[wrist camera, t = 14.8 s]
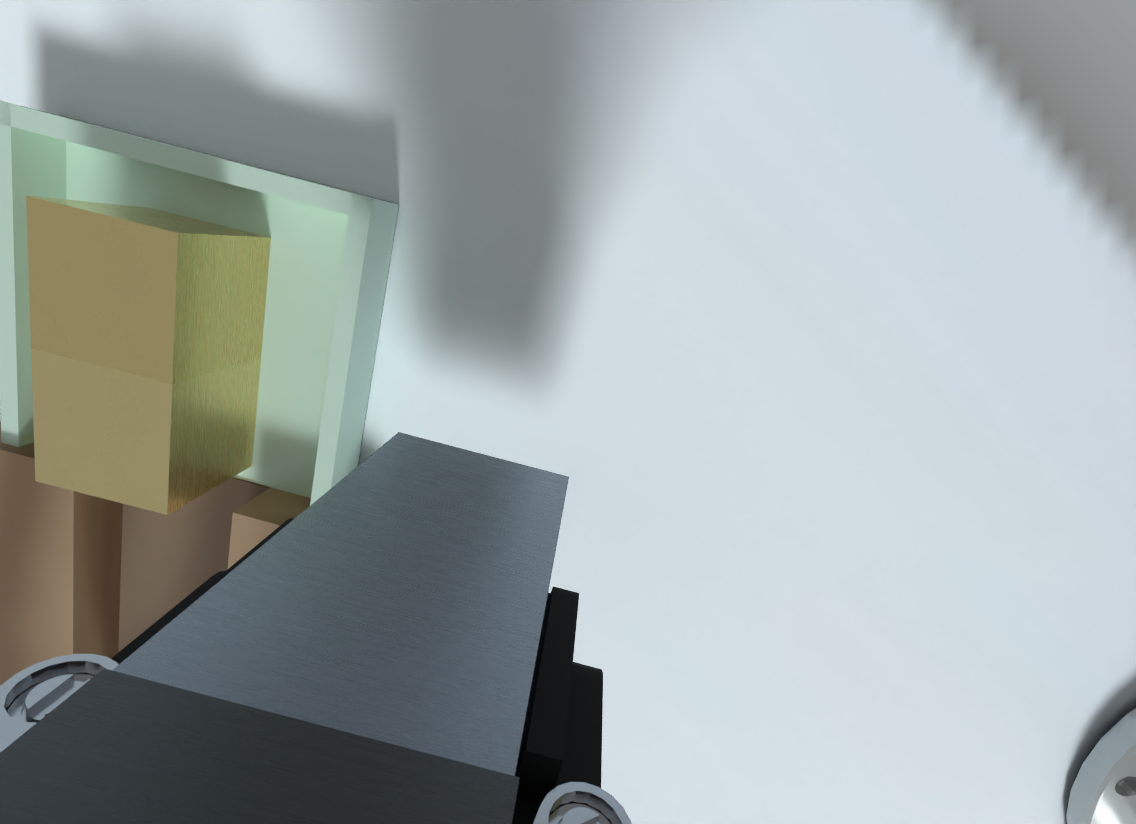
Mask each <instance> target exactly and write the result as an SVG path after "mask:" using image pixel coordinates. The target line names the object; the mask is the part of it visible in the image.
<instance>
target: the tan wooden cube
mask: <svg viewBox="0 0 1136 824" xmlns="http://www.w3.org/2000/svg"><path fill="white" fill-rule="evenodd" d="M26 213H27V243H28V273H29V303H30V333H31V349H35V350H39V351H43V352H47V353H51V354H55V355H59V356H63V357H67V358H71V359H75V360H79V361H83V362H87V363H90V364H94V365H98V366H102V367H106V368H110V369H114V370H118V371H122V372H126V373H130V374H134V375H138V376H142V377H146V378H150V379H154V380H158V381H162V382H166V383H170V384H174V383H178V382H181V381H185V380H188V379H192V378H195V377H198V376H202V375H205V374H209V373H212V372H216V371H219V370H223V369H226V368H229V367H233V366H236V365H240V364H243V363H247V362H250V361H254V360H257V359H260V358H261V353H262V341H263V329H264V317H265V305H266V293H267V281H268V269H269V257H270V245H271V237H267V236H263V235H259V234H254V233H250V232H246V231H242V230H238V229H234V228H230V227H226V226H222V225H218V224H214V223H210V222H206V221H202V220H198V219H194V218H190V217H186V216H182V215H177V214H173V213H169V212H165V211H161V210H157V209H153V208H147V207H137V206H127V205H117V204H107V203H97V202H87V201H77V200H67V199H57V198H47V197H37V196H27V195H26Z"/></svg>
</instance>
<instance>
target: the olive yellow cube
mask: <svg viewBox="0 0 1136 824" xmlns="http://www.w3.org/2000/svg"><path fill="white" fill-rule="evenodd" d="M31 363H32V393H33V423H34V453H35V481H37V482H41V483H44V484H48V485H52V486H56V487H60V488H64V489H68V490H72V491H76V492H80V493H83V494H87V495H91V496H95V497H99V498H103V499H107V500H111V501H115V502H119V503H122V504H126V505H130V506H134V507H138V508H142V509H146V510H150V511H154V512H158V513H161V514H165V515H168V514H170V513H172V512H173V511H175V510H177V509H178V508H180V507H182V506H184V505H185V504H187V503H189V502H191V501H192V500H194V499H196V498H197V497H199V496H201V495H203V494H204V493H206V492H208V491H210V490H211V489H213V488H215V487H217V486H218V485H220V484H222V483H223V482H225V481H227V480H229V479H230V478H232V477H234V476H236V475H237V474H239V473H241V472H242V471H244V470H246V469H248V468H249V467H251V466H252V462H253V450H254V438H255V426H256V414H257V402H258V390H259V378H260V366H261V358H260V359H257V360H254V361H250V362H247V363H243V364H240V365H236V366H233V367H229V368H226V369H223V370H219V371H216V372H212V373H209V374H205V375H202V376H198V377H195V378H192V379H188V380H185V381H181V382H178V383H174V384H170V383H166V382H162V381H158V380H154V379H150V378H146V377H142V376H138V375H134V374H130V373H126V372H122V371H118V370H114V369H110V368H106V367H102V366H98V365H94V364H90V363H87V362H83V361H79V360H75V359H71V358H67V357H63V356H59V355H55V354H51V353H47V352H43V351H39V350H35V349H31Z"/></svg>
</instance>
